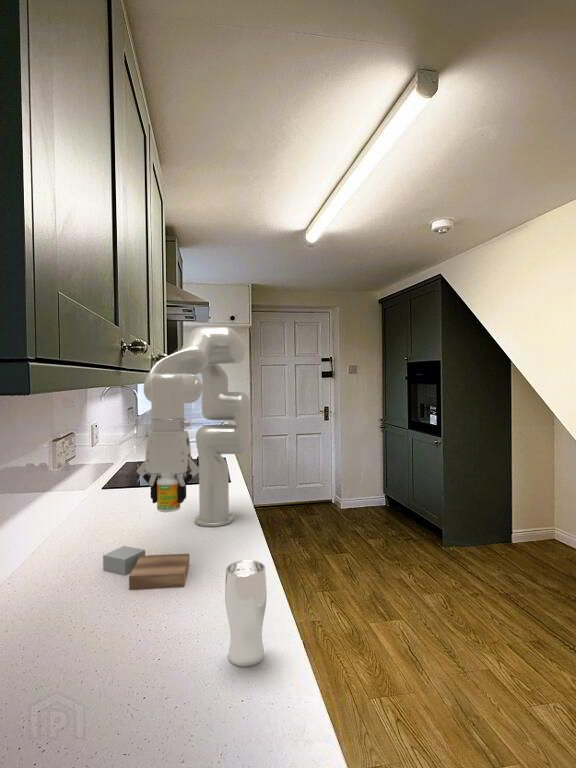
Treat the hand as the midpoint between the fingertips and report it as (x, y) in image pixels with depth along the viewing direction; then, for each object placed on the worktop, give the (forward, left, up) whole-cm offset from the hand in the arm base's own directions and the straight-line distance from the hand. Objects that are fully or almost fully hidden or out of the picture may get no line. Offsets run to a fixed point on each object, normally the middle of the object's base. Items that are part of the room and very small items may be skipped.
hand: (168, 501), depth 111 cm
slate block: (-4, -13, -18) cm, 22 cm away
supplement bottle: (0, 0, -2) cm, 2 cm away
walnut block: (+1, -2, -18) cm, 18 cm away
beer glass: (+31, +23, -18) cm, 43 cm away
